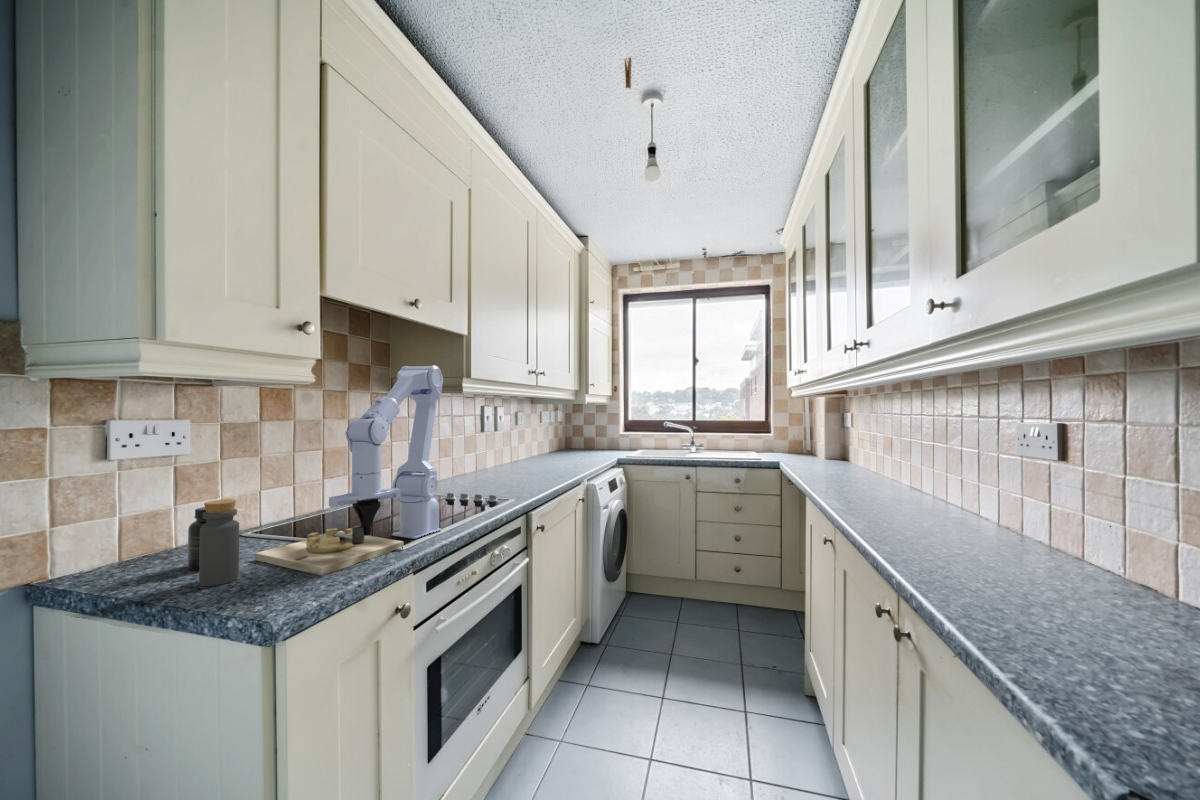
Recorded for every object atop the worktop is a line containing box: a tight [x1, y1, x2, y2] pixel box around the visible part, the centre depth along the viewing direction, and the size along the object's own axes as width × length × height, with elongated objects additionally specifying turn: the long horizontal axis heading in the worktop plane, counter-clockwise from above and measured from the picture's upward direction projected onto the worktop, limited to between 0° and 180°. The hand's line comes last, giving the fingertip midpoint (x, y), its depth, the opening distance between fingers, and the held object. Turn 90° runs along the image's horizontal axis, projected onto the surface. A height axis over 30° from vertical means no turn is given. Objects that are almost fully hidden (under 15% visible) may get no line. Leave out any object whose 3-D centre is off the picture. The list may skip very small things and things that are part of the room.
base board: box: [254, 530, 405, 577], centre depth 105 cm, size 20×22×2 cm
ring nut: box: [306, 524, 365, 553], centre depth 104 cm, size 10×15×6 cm, turn 62°
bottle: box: [198, 498, 240, 587], centre depth 89 cm, size 6×6×15 cm
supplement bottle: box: [187, 506, 207, 571], centre depth 97 cm, size 7×7×12 cm
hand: (366, 534), depth 103 cm, fingers closed
